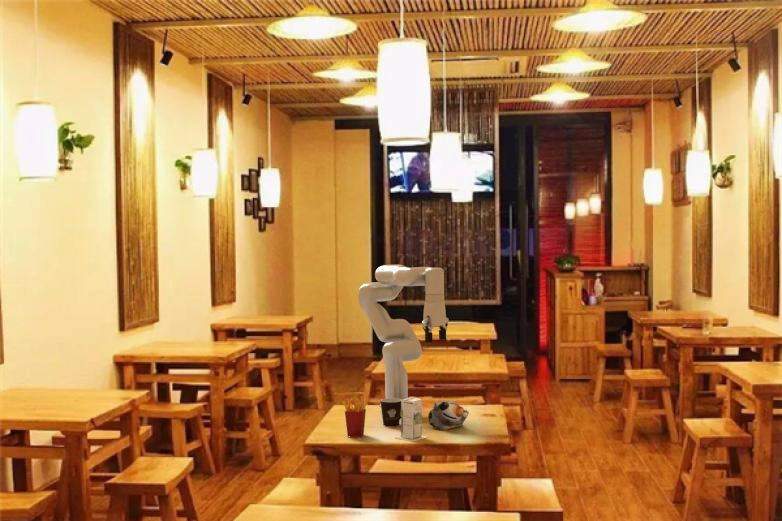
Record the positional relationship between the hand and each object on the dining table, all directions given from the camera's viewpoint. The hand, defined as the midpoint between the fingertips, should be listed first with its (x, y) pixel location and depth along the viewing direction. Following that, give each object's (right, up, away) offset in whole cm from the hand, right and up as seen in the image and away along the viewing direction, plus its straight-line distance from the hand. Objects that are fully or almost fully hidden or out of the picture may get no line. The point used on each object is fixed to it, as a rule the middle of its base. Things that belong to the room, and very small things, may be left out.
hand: (435, 341), depth 359 cm
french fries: (-32, -35, -15) cm, 50 cm away
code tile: (-10, -35, -21) cm, 42 cm away
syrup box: (-10, -35, -21) cm, 42 cm away
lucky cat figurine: (+5, -34, -4) cm, 35 cm away
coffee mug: (-16, -34, +2) cm, 38 cm away
